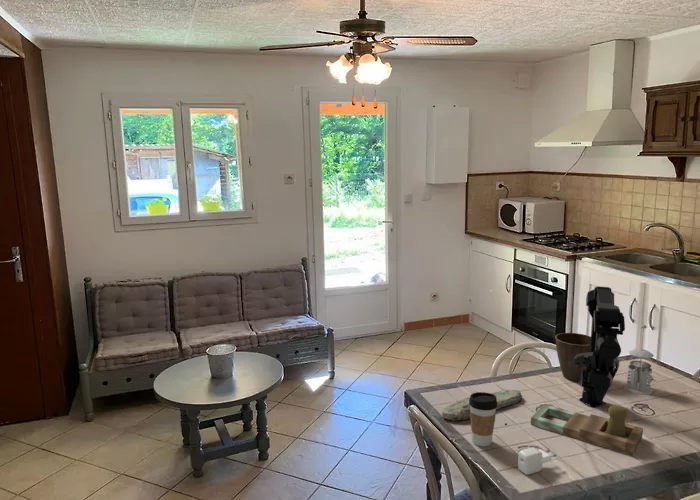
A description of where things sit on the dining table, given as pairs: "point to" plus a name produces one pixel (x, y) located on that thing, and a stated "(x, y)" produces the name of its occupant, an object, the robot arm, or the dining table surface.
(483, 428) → the coffee cup
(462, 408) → the elongated rock
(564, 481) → the dining table surface
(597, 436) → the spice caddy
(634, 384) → the french press
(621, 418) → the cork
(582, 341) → the plant pot
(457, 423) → the dining table surface
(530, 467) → the power adapter
